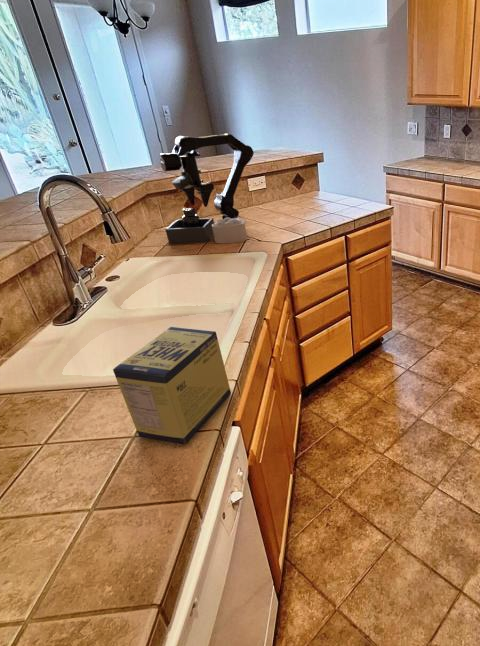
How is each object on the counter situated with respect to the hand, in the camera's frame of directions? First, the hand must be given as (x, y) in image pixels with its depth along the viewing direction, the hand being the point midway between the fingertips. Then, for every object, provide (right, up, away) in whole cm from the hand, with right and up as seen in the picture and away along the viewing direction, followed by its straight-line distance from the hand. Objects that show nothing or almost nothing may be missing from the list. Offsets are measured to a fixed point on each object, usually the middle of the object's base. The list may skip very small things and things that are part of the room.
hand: (199, 205), depth 187 cm
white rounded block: (+14, -15, -1) cm, 21 cm away
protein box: (+45, -67, -100) cm, 129 cm away
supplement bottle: (-3, -13, +2) cm, 14 cm away
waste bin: (-3, -14, +1) cm, 14 cm away
